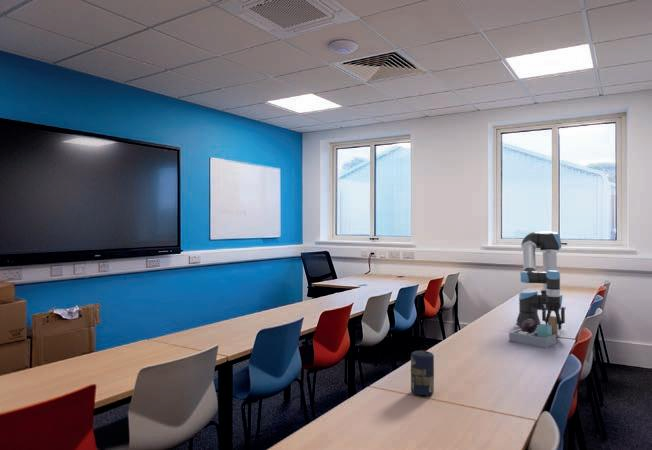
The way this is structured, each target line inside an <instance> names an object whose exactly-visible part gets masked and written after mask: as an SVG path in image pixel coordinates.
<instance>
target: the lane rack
mask: <svg viewBox="0 0 652 450" xmlns="http://www.w3.org/2000/svg"><path fill="white" fill-rule="evenodd" d="M519 331H521V332H522V329H520V328H518V329H517V328H516V329H515V330H512V331H509V332H508V338H509V339H508V341H509V342H514V343H519V344H524V345H530V346H535V347H539V348H546V349H547V348H549V347H551V346H553V345H555V344H557V338H556V335H554V334H553V335H550V336H548V337H546V338H542V337H537V331H534V332H533V333H531V334H528V335H525V334H519V333H518V332H519Z"/></svg>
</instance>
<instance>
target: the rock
mask: <svg viewBox="0 0 652 450" xmlns="http://www.w3.org/2000/svg"><path fill="white" fill-rule="evenodd" d="M536 326H537V323H536V322H535V320H533V319H528V320H525V321H524V322H523V323H522V324H521V325H519V327H520V328H519V329H522V332H528V334H531V333H533V332H536V330H537V327H536Z"/></svg>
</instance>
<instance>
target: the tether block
mask: <svg viewBox="0 0 652 450" xmlns="http://www.w3.org/2000/svg"><path fill="white" fill-rule="evenodd" d="M557 324H558V321H557V317H556V315H555V316H554V315H550V316H549V325H546V323H544V324H543V323H541V324H540V325H537V327H536V332H537V337H542V338H546V337H548V336H550V335H553V334H554V335H556V339H557V338H558V337H559V335H557Z"/></svg>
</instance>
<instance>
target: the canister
mask: <svg viewBox="0 0 652 450" xmlns="http://www.w3.org/2000/svg"><path fill="white" fill-rule="evenodd" d="M434 358H435V355H434V354H433V352H431V351H429V350H428V351H427V350H415V351H413V352H411V354H410V390H411V392H412V394H414V393H415V394H414V395H416V394H418V395H417V396H420V395H429V396H431V394H432V395H433V394H434V393H435V392H434V391H435V387H434V386H435V384H434V383H435V382H434V381H435V367H434V366H435V360H434Z"/></svg>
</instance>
